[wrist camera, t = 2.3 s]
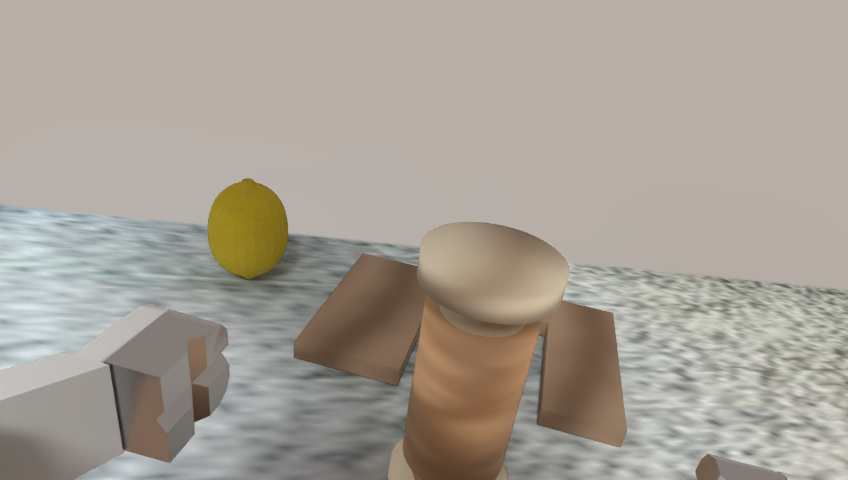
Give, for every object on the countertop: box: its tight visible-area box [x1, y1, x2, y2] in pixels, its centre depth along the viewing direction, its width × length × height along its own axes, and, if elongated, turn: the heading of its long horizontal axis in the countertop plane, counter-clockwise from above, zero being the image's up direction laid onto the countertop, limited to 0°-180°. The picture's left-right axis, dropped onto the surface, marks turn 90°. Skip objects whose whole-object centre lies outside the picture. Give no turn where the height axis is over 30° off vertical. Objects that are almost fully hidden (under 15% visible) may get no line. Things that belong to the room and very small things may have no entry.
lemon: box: [208, 179, 288, 279], centre depth 40 cm, size 6×6×8 cm
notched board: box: [294, 254, 627, 447], centre depth 38 cm, size 20×12×1 cm, turn 76°
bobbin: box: [387, 222, 570, 480], centre depth 24 cm, size 6×6×13 cm
